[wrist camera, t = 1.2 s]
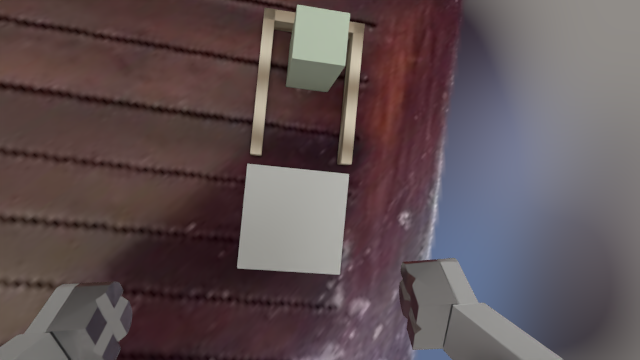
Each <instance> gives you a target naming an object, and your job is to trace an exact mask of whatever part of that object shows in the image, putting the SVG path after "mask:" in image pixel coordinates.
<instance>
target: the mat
mask: <svg viewBox="0 0 640 360" xmlns="http://www.w3.org/2000/svg"><path fill="white" fill-rule="evenodd" d="M348 180H349V174H343V173H334V172H324V171H314V170H304V169H295V168H285V167H275V166H265V165H255V164H247V173H246V183H245V193H244V203H243V213H242V223H241V233H240V243H239V253H238V263H237V268H240V269H256V270H272V271H288V272H304V273H320V274H336V275H340V267H341V256H342V245H343V235H344V224H345V213H346V202H347V191H348Z"/></svg>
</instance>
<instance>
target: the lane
mask: <svg viewBox="0 0 640 360" xmlns="http://www.w3.org/2000/svg"><path fill="white" fill-rule="evenodd" d="M295 14H296V13H294V12H288V11H281V10H275V9H269V8H265V10H264V20H263V30H262V40H261V50H260V60H259V70H258V80H257V90H256V100H255V110H254V120H253V130H252V140H251V150H250V154H251V155H254V156H261V155H262V145H263V134H264V124H265V114H266V104H267V94H268V84H269V74H270V64H271V54H272V44H273V34H274V29H275V30H281V31H287V32H292V31H293V25H294V20H295ZM363 35H364V24H361V23H355V22H349V31H348V52H347V63H346V73H345V84H344V95H343V105H342V116H341V127H340V138H339V148H338V159H337V164H340V165H350V164H352V154H353V143H354V132H355V121H356V110H357V100H358V89H359V78H360V67H361V56H362V45H363Z"/></svg>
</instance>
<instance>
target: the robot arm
mask: <svg viewBox="0 0 640 360" xmlns="http://www.w3.org/2000/svg"><path fill="white" fill-rule="evenodd" d="M401 274H402V278H403V280H402V281H401V282H400V285H399V296H400V304H401V309H402V313H403V315H404V316H405V317H406V318H407V319H408V323H407V331H408V334H409V338H410V341H411V345H412V349H413V350H420V349H444V351H445V352H446V353H447V354H448V356H450V358H451V359H452V360H563V359H562V358H560V357H559V356H558V355H556V354H555V353H553V352H552V351H551V350H549V349H548V348H546V347H545V346H543V345H542V344H541V343H539V342H538V341H537V340H535V339H534V338H532V337H531V336H530V335H528V334H527V333H525V332H524V331H522V330H521V329H520V328H518V327H517V326H515V325H514V324H513V323H511V322H510V321H509V320H507V319H506V318H504V317H503V316H501V315H500V314H499V313H497V312H496V311H495V310H493V309H492V308H490V307H489V306H487V305H486V304H485V303H478V301H477V299H476V297H475V295H474V293H473V291H472V289H471V287H470V285H469V283H468V281H467V279H466V277H465V275H464V273H463V271H462V269H461V267H460V265H459V263H458V261H457V260H456V259H455V258H449V259H437V260H422V261H409V262H402V265H401ZM122 292H123V289H122V287H121V285H120V283H119V282H94V283H78V284H62V285H61V286H59V287H57V288H56V289H55V291H54V292H53V294H52V295H51V297H50V298H49V299H48V301H47V302H46V304H45V305H44V306H43V308H42V309H41V311H40V312H39V313H38V315H37V316H36V318H35V319H34V321H33V322H32V323H31V325H30V326H29V328H28V329H27V330H26V332H25V333H24V334H20V335H17V336H15V337H14V338H13V339H11V340H10V341H8V342H7V343H5V344H4V345H2V346H1V347H0V360H116V358H117V356H118V353H119V351H120V349H121V348H120V345H119V342H118V341H120V340H121V339H122V338H123V337H124V336H125V335H126V334H127V333H128V331H129V328H130V326H131V320H132V309H131V305H130V303H129V301H128V300H126V299H125V298H123V297H122V296H121V294H122Z"/></svg>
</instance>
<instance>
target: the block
mask: <svg viewBox="0 0 640 360" xmlns="http://www.w3.org/2000/svg"><path fill="white" fill-rule="evenodd" d="M349 21H350V13H345V12H339V11H333V10H327V9H320V8H314V7H308V6H302V5H297V9H296V14H295V20H294V25H293V31H292V36H291V42H290V49H289V59H288V69H287V79H286V87H293V88H300V89H308V90H315V91H322V92H328V91H329V89H330V88H331V86H332V85H333V83H334V82H335V80H336V79H337V77H338V76H339V74H340V73H341V71H342V70H343V69H344V67H345V63H346V53H347V42H348V31H349Z"/></svg>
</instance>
